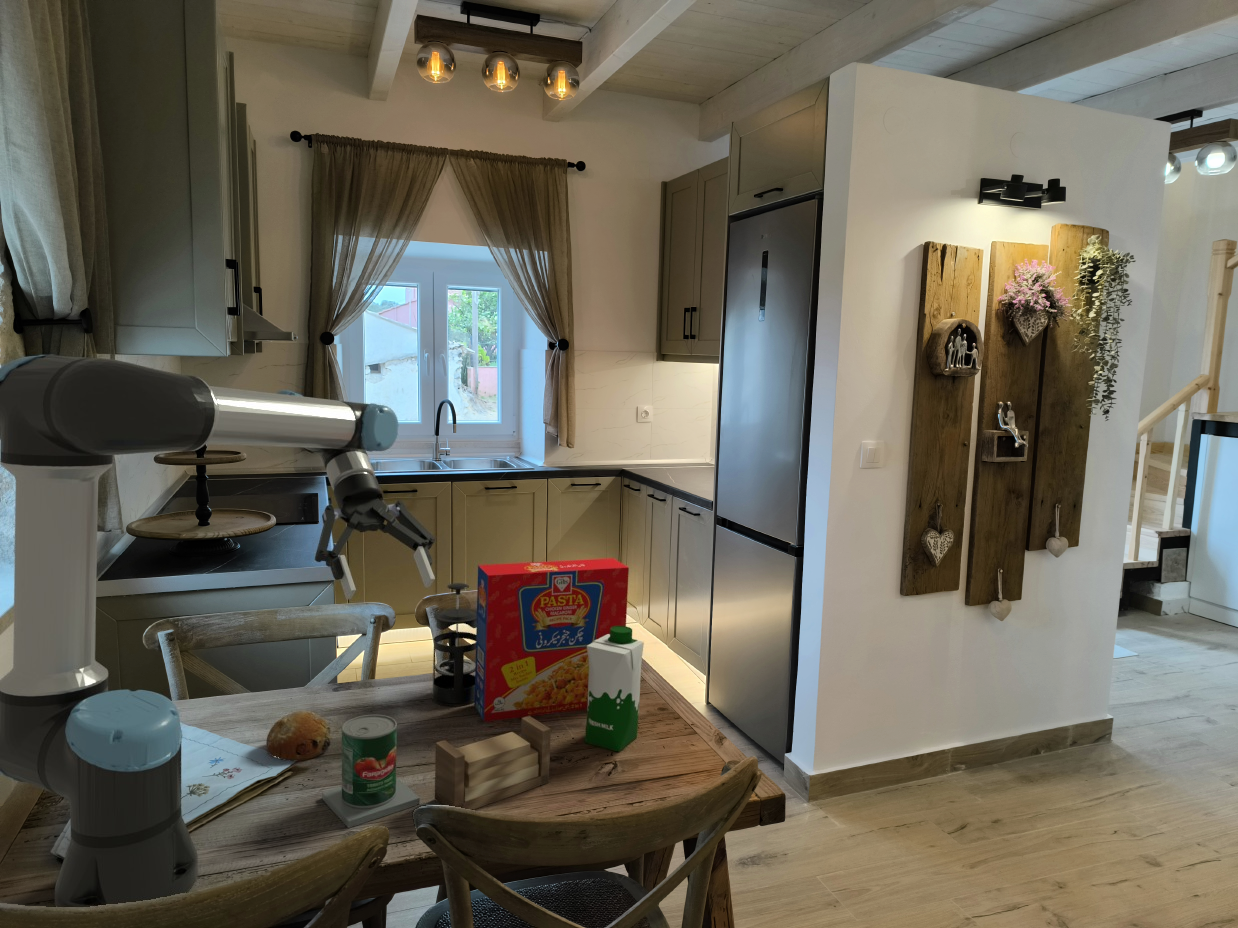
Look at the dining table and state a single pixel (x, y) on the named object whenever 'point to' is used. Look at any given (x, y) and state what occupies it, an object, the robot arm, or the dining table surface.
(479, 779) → the offcut stack
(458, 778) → the walnut rack
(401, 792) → the grey tile
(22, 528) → the robot arm
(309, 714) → the bread roll
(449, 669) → the french press
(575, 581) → the pasta box
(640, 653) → the milk carton
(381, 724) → the canned tomato
